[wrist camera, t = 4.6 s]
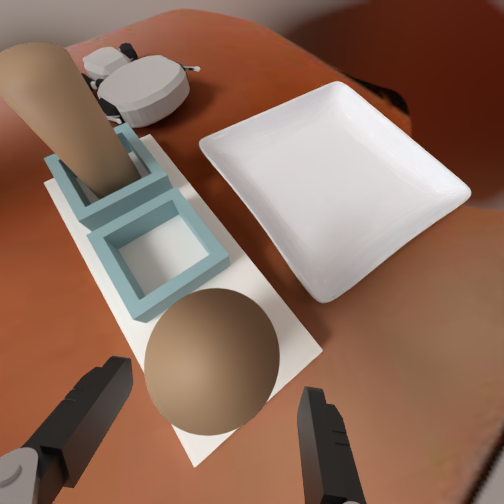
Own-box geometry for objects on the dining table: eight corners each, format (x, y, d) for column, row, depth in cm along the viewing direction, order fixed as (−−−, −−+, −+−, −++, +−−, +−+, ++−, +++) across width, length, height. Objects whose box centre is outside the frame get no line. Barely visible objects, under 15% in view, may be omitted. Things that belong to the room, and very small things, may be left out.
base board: (198, 458, 17) (106, 683, 6) (54, 191, 25) (-103, 60, 14) (317, 350, 20) (417, 352, 9) (154, 144, 28) (94, 4, 17)
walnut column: (221, 400, 17) (190, 475, 7) (187, 344, 19) (120, 339, 8) (271, 357, 18) (307, 367, 8) (236, 307, 20) (229, 265, 10)
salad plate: (453, 208, 27) (481, 189, 24) (312, 314, 22) (323, 308, 19) (331, 101, 33) (340, 75, 30) (199, 164, 28) (193, 140, 25)
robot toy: (68, 106, 32) (139, 154, 28) (40, 68, 28) (119, 118, 24) (138, 64, 36) (210, 101, 32) (122, 26, 32) (202, 62, 28)
